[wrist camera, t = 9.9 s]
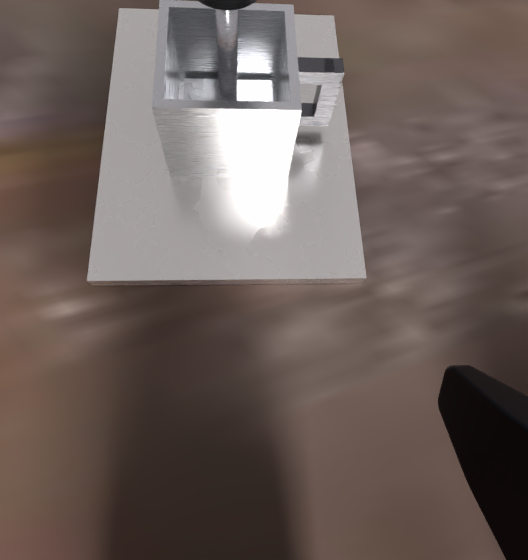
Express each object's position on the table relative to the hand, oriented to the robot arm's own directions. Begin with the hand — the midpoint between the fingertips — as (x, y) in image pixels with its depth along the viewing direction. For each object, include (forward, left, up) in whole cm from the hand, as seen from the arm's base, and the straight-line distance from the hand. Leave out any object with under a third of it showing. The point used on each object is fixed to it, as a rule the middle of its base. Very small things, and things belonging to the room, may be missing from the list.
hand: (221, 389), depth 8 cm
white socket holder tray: (+6, -16, -14) cm, 22 cm away
